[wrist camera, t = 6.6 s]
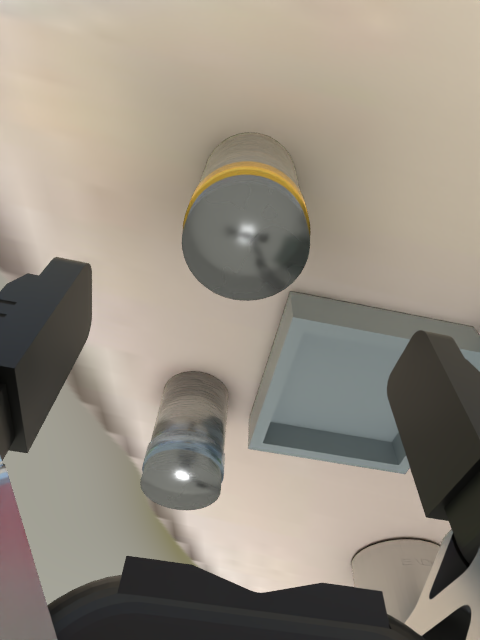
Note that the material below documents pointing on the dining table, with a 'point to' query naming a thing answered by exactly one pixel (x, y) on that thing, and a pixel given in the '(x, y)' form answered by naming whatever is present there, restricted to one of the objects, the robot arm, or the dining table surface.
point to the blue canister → (187, 443)
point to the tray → (339, 382)
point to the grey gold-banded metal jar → (247, 220)
